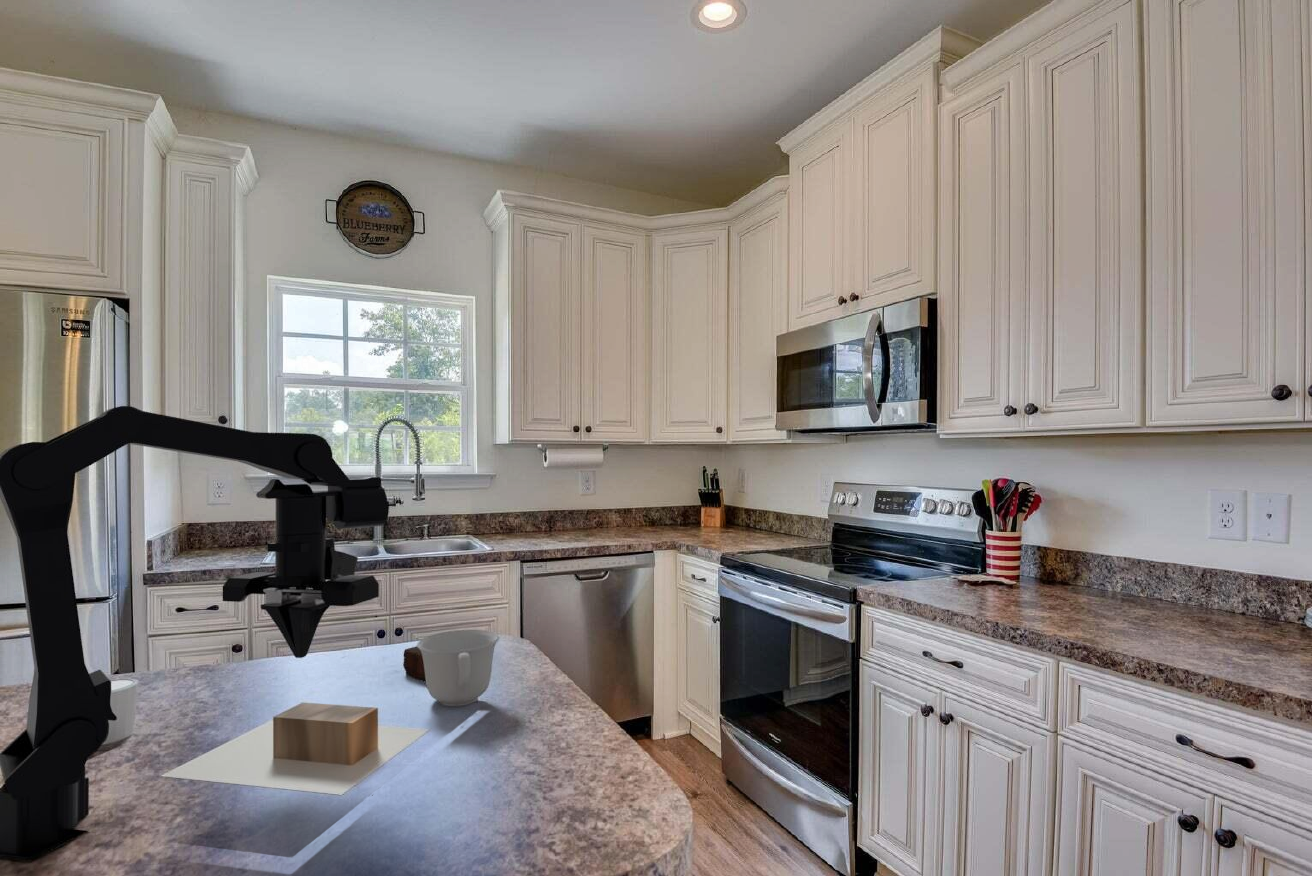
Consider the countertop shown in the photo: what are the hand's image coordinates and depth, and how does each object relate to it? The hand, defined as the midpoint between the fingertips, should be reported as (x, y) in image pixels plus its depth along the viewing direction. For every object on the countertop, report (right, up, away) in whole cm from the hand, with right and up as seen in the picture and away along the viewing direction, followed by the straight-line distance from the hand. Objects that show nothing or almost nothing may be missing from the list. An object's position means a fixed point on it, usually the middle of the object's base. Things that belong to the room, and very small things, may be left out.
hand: (301, 657), depth 86 cm
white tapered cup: (-30, -14, +7) cm, 34 cm away
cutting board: (+1, -13, 0) cm, 13 cm away
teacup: (+15, -13, +16) cm, 26 cm away
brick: (+6, -14, +30) cm, 34 cm away
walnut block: (-2, -9, 0) cm, 9 cm away
